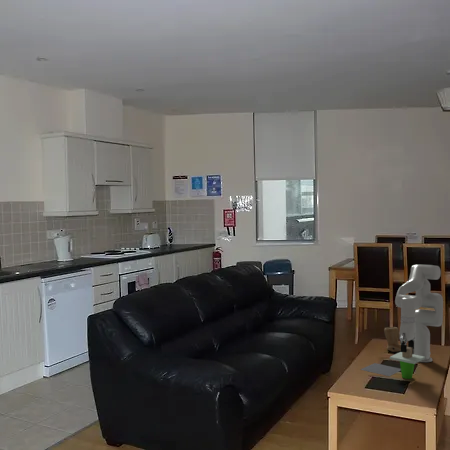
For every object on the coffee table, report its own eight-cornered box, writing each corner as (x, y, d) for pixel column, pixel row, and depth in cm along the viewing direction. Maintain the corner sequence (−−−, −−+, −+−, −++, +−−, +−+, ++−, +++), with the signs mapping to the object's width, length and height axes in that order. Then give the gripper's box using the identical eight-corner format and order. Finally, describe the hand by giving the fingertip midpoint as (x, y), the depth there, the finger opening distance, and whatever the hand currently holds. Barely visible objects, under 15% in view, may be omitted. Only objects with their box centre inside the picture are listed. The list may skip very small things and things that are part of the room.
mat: (374, 364, 321) (374, 363, 320) (403, 370, 308) (403, 369, 308) (360, 370, 307) (360, 369, 307) (389, 377, 295) (389, 376, 295)
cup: (416, 381, 288) (417, 361, 288) (399, 380, 290) (399, 360, 290) (414, 376, 297) (414, 357, 297) (397, 375, 299) (397, 356, 298)
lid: (400, 354, 303) (400, 343, 303) (424, 358, 294) (424, 347, 293) (389, 358, 293) (389, 347, 293) (414, 364, 283) (414, 352, 283)
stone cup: (385, 345, 364) (385, 324, 364) (403, 347, 359) (403, 326, 359) (382, 351, 350) (382, 328, 350) (401, 353, 345) (401, 330, 345)
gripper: (407, 316, 301) (407, 346, 302) (394, 321, 289) (394, 352, 289) (420, 318, 296) (420, 348, 297) (407, 323, 284) (407, 354, 284)
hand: (407, 350), depth 293 cm, fingers open, 9 cm apart
